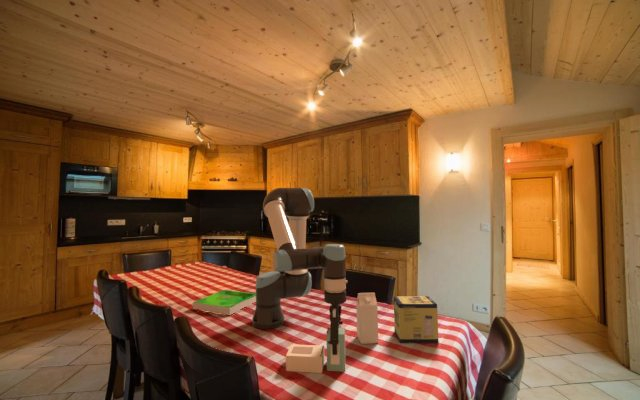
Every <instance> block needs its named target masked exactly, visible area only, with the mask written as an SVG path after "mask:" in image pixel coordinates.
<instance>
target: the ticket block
mask: <svg viewBox="0 0 640 400" xmlns="http://www.w3.org/2000/svg"><path fill="white" fill-rule="evenodd" d="M324 365H325V345H316V344H315V345H314V344H298V343H297V344H295V343H292V344H290V346H289V347H288V351H287V352H286V355H285V370H286V372H298V373H299V372H301V373H317V374H319V373H320V374H322V373H323V369H324Z"/></svg>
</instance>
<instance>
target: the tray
mask: <svg viewBox="0 0 640 400" xmlns="http://www.w3.org/2000/svg"><path fill="white" fill-rule="evenodd" d="M254 302H256V292H255V293H254V292H246V291H236V290H228V289H224V290H220V291H218V292H215V293H212V294H211V295H207V296H206V297H203V298H200V299H197V300H195V301H193V302H192V310H193V309H199V310H204V311H210V312H215V313H221V314H227V315H231V314H233V313H235V312H237V311H239V310H240V309H242V308H244V307H246V306H248V305H250V304H252V303H254ZM254 304H255V303H254ZM252 305H253V304H252ZM239 312H240V311H239ZM237 313H238V312H237ZM235 314H236V313H235ZM233 315H234V314H233Z"/></svg>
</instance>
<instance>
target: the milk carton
mask: <svg viewBox="0 0 640 400" xmlns="http://www.w3.org/2000/svg"><path fill="white" fill-rule="evenodd" d="M355 303H356V337H357V339H358V340H359V343H360V344H361V345H364V344H366V345H367V344H378V343H379V323H378V322H379V317H378V316H379V315H378V314H379V313H378V311H379V310H378V302H377V298H376V293H375V292H359V293H357V298H356V302H355Z"/></svg>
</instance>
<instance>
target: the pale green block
mask: <svg viewBox="0 0 640 400" xmlns="http://www.w3.org/2000/svg"><path fill="white" fill-rule="evenodd" d="M325 336H326V371H327V372H328V371H330V372H346V328H344V327H341V328H339V364H331V346H330V344H328V341H330V326H329V327H327V330H326V335H325Z"/></svg>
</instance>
